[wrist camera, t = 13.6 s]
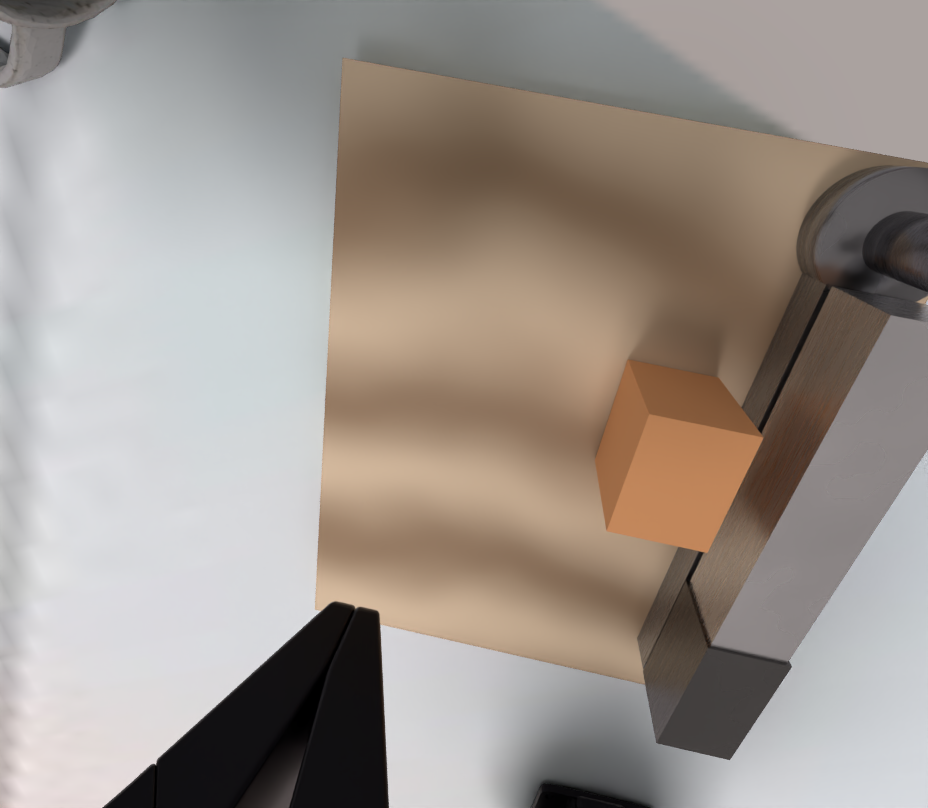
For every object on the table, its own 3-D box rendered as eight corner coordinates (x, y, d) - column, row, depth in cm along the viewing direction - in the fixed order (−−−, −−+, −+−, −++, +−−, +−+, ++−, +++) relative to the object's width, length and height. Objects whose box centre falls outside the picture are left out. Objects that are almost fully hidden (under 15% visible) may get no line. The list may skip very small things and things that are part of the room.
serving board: (693, 673, 25) (700, 697, 24) (324, 590, 26) (314, 609, 25) (966, 173, 15) (998, 175, 14) (355, 63, 16) (342, 57, 15)
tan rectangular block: (677, 477, 19) (707, 552, 16) (594, 460, 19) (606, 531, 16) (718, 377, 18) (763, 437, 14) (627, 359, 18) (649, 413, 14)
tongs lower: (831, 154, 14) (960, 159, 10) (967, 178, 14) (1158, 194, 10) (623, 635, 23) (642, 752, 19) (706, 653, 23) (745, 776, 19)
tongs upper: (826, 284, 14) (888, 315, 12) (924, 303, 14) (1010, 338, 12) (641, 672, 22) (655, 744, 19) (706, 687, 21) (728, 761, 19)
